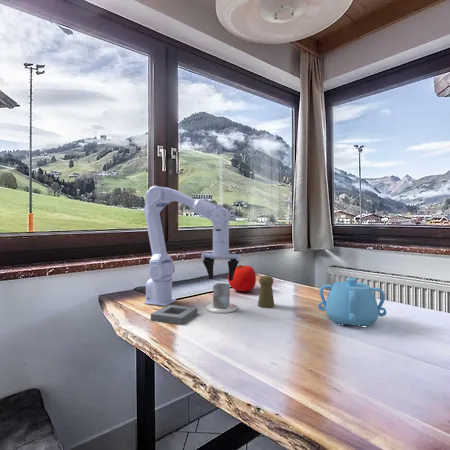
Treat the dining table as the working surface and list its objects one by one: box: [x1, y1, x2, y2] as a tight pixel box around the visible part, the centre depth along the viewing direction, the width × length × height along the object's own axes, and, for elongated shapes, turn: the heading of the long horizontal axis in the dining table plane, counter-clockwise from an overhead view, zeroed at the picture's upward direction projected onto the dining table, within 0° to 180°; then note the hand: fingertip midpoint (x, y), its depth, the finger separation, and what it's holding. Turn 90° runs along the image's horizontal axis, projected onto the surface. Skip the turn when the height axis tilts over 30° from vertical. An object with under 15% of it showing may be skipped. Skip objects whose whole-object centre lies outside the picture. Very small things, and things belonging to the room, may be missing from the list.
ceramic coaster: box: [205, 302, 238, 314], centre depth 114 cm, size 11×11×1 cm
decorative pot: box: [317, 277, 387, 326], centre depth 100 cm, size 16×16×14 cm
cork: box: [257, 275, 275, 309], centre depth 117 cm, size 6×6×11 cm
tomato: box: [227, 264, 257, 292], centre depth 139 cm, size 12×14×11 cm
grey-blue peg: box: [212, 282, 231, 309], centre depth 114 cm, size 4×4×8 cm
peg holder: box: [150, 304, 198, 325], centre depth 105 cm, size 11×11×2 cm
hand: (220, 279), depth 114 cm, fingers open, 7 cm apart
